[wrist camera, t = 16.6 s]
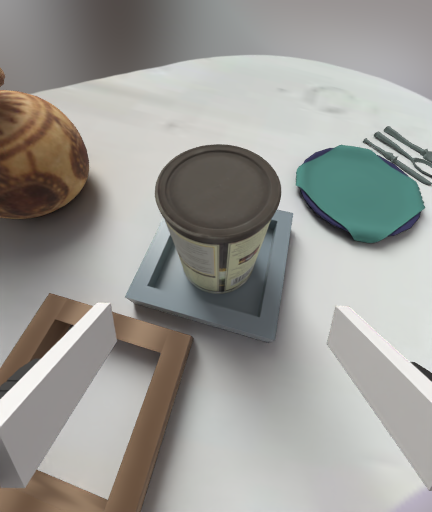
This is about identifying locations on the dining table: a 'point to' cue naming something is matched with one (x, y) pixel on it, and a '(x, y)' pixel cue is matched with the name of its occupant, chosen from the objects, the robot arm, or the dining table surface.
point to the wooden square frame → (147, 425)
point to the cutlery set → (364, 188)
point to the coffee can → (218, 212)
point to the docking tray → (217, 305)
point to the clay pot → (37, 156)
